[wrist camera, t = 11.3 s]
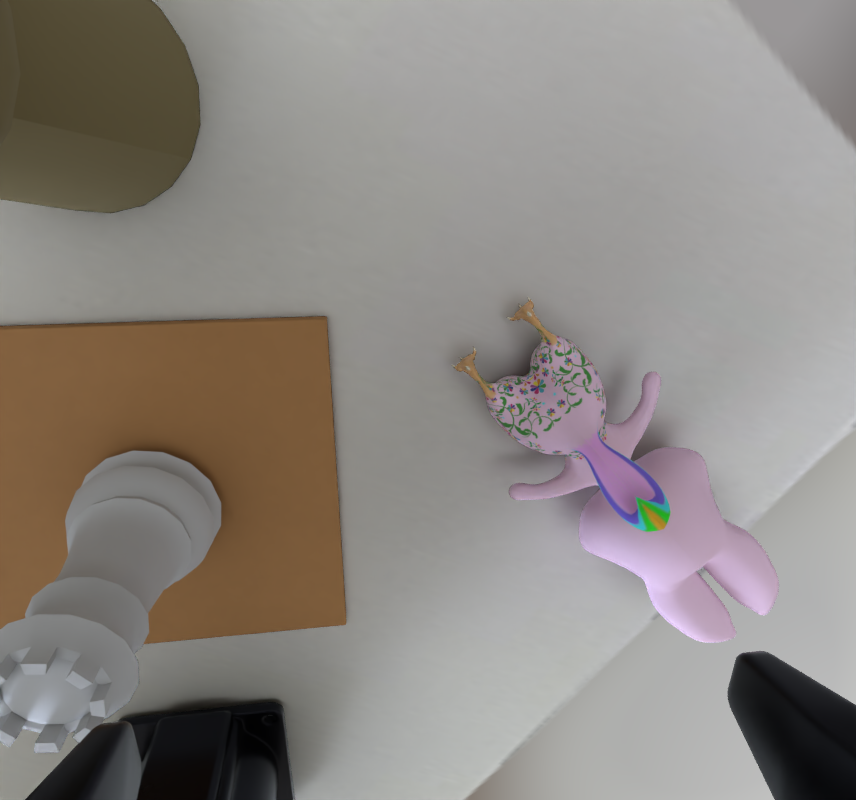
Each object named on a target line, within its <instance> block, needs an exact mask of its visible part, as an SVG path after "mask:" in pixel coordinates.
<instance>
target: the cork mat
mask: <svg viewBox="0 0 856 800" xmlns="http://www.w3.org/2000/svg"><path fill="white" fill-rule="evenodd" d="M130 451H151V452H164V453H166V454H169V455H171V456H174V457H176V458H179V459H181V460H184V461H187V462H189V463H191V464H192V465H193V466H194V467H195V468H196V469H198V470H199V471H200V472H201V473H202V474H203V475H204V476H206V477H207V478H208V479H209V480H210V481H211V483H212V485H213V487H214V489H215V491H216V493H217V495H218V497H219V499H220V501H221V527H220V528H219V530H218V532H217V534H216V536H215V538H214V541H213V542H212V544H211V546H210V548H209V550H208V552H207V554H206V556H205V558H204V560H203V561H202V562H201V563H200V564H199V565H198V566H197V567H196V568H195V569H193V570H192V571H191V572H190V573H188V574H187V575H186V576H184V577H183V578H182V579H181V580H179V581H176V582H174V583H173V584H172V585H171V586H169V587H168V588H167V589H164V590H163V592H162V593H161V595H160V596H159V598H158V599H157V601H156V602H155V604H154V605H153V607H152V608H151V610H150V611H149V613H148V620H149V634H148V636H147V638H146V640H145V642H144V643H143V644H149V643H160V642H170V641H181V640H191V639H202V638H212V637H223V636H233V635H244V634H254V633H265V632H275V631H286V630H296V629H307V628H317V627H328V626H338V625H346V606H345V590H344V575H343V559H342V544H341V528H340V513H339V497H338V482H337V466H336V451H335V435H334V420H333V404H332V389H331V373H330V358H329V342H328V327H327V317H326V316H318V317H284V318H251V319H217V320H184V321H151V322H117V323H84V324H50V325H17V326H0V629H2V628H3V627H4V626H5V625H7V624H8V623H11V622H14V621H18V620H21V619H24V618H25V613H26V610H27V608H28V606H29V603H30V601H31V599H32V597H33V596H34V595H35V594H37V593H38V592H39V591H40V590H42V589H43V588H44V587H45V586H47V585H48V584H50V583H53V582H54V581H55V580H56V578H57V577H58V575H59V574H60V572H61V570H62V568H63V565H64V563H65V561H66V559H67V556H68V547H67V538H66V537H67V534H66V525H65V519H66V514H67V511H68V509H69V507H70V504H71V502H72V500H73V497H74V495H75V493H76V491H77V490H78V489H79V488H80V487H81V486H82V483H83V481H84V479H85V476H86V475H87V474H88V473H89V472H91V471H92V470H93V469H94V468H95V467H97V466H98V465H99V464H100V463H101V462H103V461H104V460H105V459H107V458H110V457H113V456H117V455H120V454H123V453H127V452H130Z"/></svg>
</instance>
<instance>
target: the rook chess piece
mask: <svg viewBox="0 0 856 800" xmlns="http://www.w3.org/2000/svg"><path fill="white" fill-rule="evenodd" d="M65 525H66V534H67V537H66V538H67V547H68V556H67V559H66V561H65V563H64V565H63V568H62V570H61V572H60V574H59V575H58V577H57V578H56V580H55V581H54V582H53V583H50V584H48V585H47V586H45V587H44V588H43V589H42V590H40V591H39V592H38V593H37V594H35V595H34V596H33V597H32V599H31V601H30V603H29V606H28V608H27V610H26V613H25V618H24V619H21V620H18V621H14V622H11V623H8V624H7V625H5V626H4V627H3V628H2V629H0V743H2V744H4V745H6V746H8V747H10V746H11V745H12V743H13V742H14V741H15V740H16V738H17V737H18V735H19V733H20V731H21V730H22V729H26V730H30V731H35V732H39V733H41V734H40V735H39V737H38V739H37V741H36V743H35V749H34V753H49V752H59V751H60V749H61V747H62V745H63V743H64V741H65V739H66V737H67V735H68V733H70V732H73V731H75V732H74V735H73V737H72V738H73V739H75V740H76V741H77V742H78V743H80V741H81V740H82V739H83V738H84V737H85V736H86V735H87V734H88V733H89V732H90V731H91V730H92V729H93V728H95V727H96V726H98V725H100V724H102V722H103V720H104V719H106V718H108V717H110V716H111V715H112V714H114V713H115V712H116V711H118V710H119V709H120V708H122V707H123V706H124V705H126V704H127V703H128V702H129V701H130V699H131V698H132V696H133V694H134V692H135V690H136V688H137V686H138V684H139V668H138V660H137V658H136V656H135V655H134V653H135V652H137V651H138V650H139V649H141V647H142V645H143V643H144V642H145V640H146V638H147V636H148V634H149V620H148V613H149V611H150V610H151V608H152V607H153V605H154V604H155V602H156V601H157V599H158V598H159V596H160V595H161V593H162V592H163V590H164V589H167V588H168V587H169V586H171V585H172V584H173V583H174V582H176V581H179V580H181V579H182V578H183V577H184V576H186V575H187V574H188V573H190V572H191V571H192V570H193V569H195V568H196V567H197V566H198V565H199V564H200V563H201V562H202V561H203V560H204V558H205V556H206V554H207V552H208V550H209V548H210V546H211V544H212V542H213V541H214V538H215V536H216V534H217V532H218V530H219V528H220V527H221V501H220V499H219V497H218V495H217V493H216V491H215V489H214V487H213V485H212V483H211V481H210V480H209V479H208V478H207V477H206V476H204V475H203V474H202V473H201V472H200V471H199V470H198V469H196V468H195V467H194V466H193V465H192V464H191V463H189V462H187V461H184V460H181V459H179V458H176V457H174V456H171V455H169V454H166V453H164V452H151V451H130V452H127V453H123V454H120V455H117V456H113V457H110V458H107V459H105V460H104V461H103V462H101V463H100V464H99V465H98V466H97V467H95V468H94V469H93V470H92V471H91V472H89V473H88V474H87V475H86V476H85V479H84V481H83V483H82V486H81V487H80V488H79V489H78V490H77V491H76V493H75V495H74V497H73V500H72V502H71V504H70V507H69V509H68V511H67V514H66V519H65Z"/></svg>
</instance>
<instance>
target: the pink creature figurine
mask: <svg viewBox="0 0 856 800" xmlns="http://www.w3.org/2000/svg"><path fill="white" fill-rule="evenodd" d="M528 301H529V302H527V303H526V304H525V305H524V306H521V305H520V304H519V308H520V309H519V310H518V311H517V312H516V313H515V316H514V317H513V318H512V317H507V318H508V319H509V320H512V321H514V320H520V319H521V318H522V319H523V320H525V321H528V322H529V323H531V324H532V325H533V326H535V327H536V329H537V330H538V331H539V333H540V336H541V344H539V345H538V346H537V347H536V349H535V350H534V352H533V353H532V356H531V361H530V371H529V373H528V374H527V375H525V376H506V377H503V378H501V379H500V380H498V381H497V382H496V383H489V382H487V381H485V380H484V379H483V378H482V377H481V376H480V375H479V374H478V372H477V370H476V368H475V365H474V363H473V360H475V355H476V349H475V348H474V347H473V354H469V355H468V356H467V357H465V358H462V357H460V359H461V361H460V363H458V364H457V366H455V365H452V366H453V367H454V368H455V369H456V370H457V371H464V372H466V373H468V374H469V375H470V376H471V377H472V378H473V379H474V380H475V381H477V382H478V383H479V384H480V386H481V387H482V389H483V391H484V393H485V396H486V401H487V405H488V409H489V412H490V414H491V415H492V417H493V418H494V419H495V420H496V422H497V423H498V424H499V425H500V426H501V427H502V428H503V429H504V430H505V431H506V432H507V433H508V434H509V435H510V436H511V437H512V438H513V439H515V440H516V441H518V442H519V443H521V444H523V445H524V446H526V447H529V448H531V449H533V450H535V451H538V452H541V453H545V454H551V455H560V454H564V456H565V467H564V470H563V471H562V472H561V473H560V474H559V475H558V476H557V477H555V478H553V479H551V480H549V481H547V482H544V483H541V484H536V485H532V484H525V483H516V484H513V485H512V486H511V487H510V489H509V495H510V496H511V497H512V498H513V499H515V500H536V499H548V498H553V497H557V496H561V495H565V494H568V493H572V492H575V491H578V490H580V489H583V488H586V487H590V486H599V487H600V489H599V490H598V491H597V492H596V493H595V494H594V495H593V496H592V497H591V498H590V500H589V501H588V502H587V503H586V505H585V506H584V508H583V510H582V513H581V517H580V523H579V539H580V542H581V545H582V546H583V548H584V549H585V550H586V551H588V552H590V553H591V554H594V555H596V556H598V557H601V558H604V559H606V560H609V561H611V562H614V563H616V564H618V565H620V566H622V567H624V568H626V569H628V570H630V571H631V572H633V573H634V574H636V575H637V576H639V577H641V578H642V579H643V580H644V582H645V584H646V587H647V590H648V594H649V596H650V599H651V602H652V603H653V605H654V607H655V608H656V610H657V611H658V612H659V613H660V614H661V615H662V616H663V617H664V618H665V619H666V620H667V621H668V622H669V623H670V624H671V625H673V626H674V627H675V628H677V629H678V630H680V631H681V632H683V633H684V634H685V635H687V636H689V637H690V638H692V639H695V640H697V641H701V642H708V643H715V642H722V641H727V640H730V639H732V638H734V637H735V636H736V630H735V628H734V626H733V624H732V621H731V618H730V615H729V612H728V611H727V609H726V607H725V605H724V604H723V603H722V601H721V600H720V599H719V598H718V596H717V595H716V594H715V593H714V591H713V590H712V589H711V588H710V586H709V585H708V584H707V583H706V582H705V580H704V579H703V578H702V577H701V576H700V575H699V574H698V572H697V570H699V569H700V568H702V567H704V568H705V569H706V570H707V572H708V573H709V574H710V575H711V576H712V577H713V578H714V579H715V580H716V581H717V582H718V583H719V584H720V585H721V586H722V587H723V588H724V589H725V590H726V591H727V592H728V594H729V595H730V596H731V597H733V598H734V599H735V600H736V601H737V602H739V603H740V604H742V605H744V606H746V607H748V608H750V609H751V610H753V611H755V612H756V613H758V614H760V615H766V614H767V613H769V611H770V610H771V608H772V606H773V605H774V603H775V601H776V598H777V595H778V590H779V581H778V576H777V573H776V571H775V569H774V567H773V565H772V563H771V561H770V559H769V557H768V555H767V554H766V552H765V550H764V549H763V548H762V546H761V545H760V544H759V543H758V541H757V540H756V539H755V538H754V537H753V536H752V535H751V534H749V533H748V532H747V531H745V530H743V529H742V528H740V527H738V526H736V525H733V524H731V523H729V522H727V521H726V520H724V519H723V518H722V516H721V514H720V512H719V509H718V507H717V505H716V503H715V500H714V497H713V494H712V490H711V486H710V482H709V477H708V472H707V468H706V464H705V461H704V459H703V458H702V456H701V455H700V454H698V453H697V452H695V451H693V450H690V449H685V448H676V447H665V448H659V449H656V450H653V451H651V452H649V453H647V454H645V455H643V456H642V457H640V458H639V459H637V460H635V461H632V460H631V456H632V453H633V451H634V449H635V447H636V445H637V444H638V442H639V441H640V439H641V438H642V436H643V434H644V432H645V430H646V428H647V426H648V424H649V422H650V420H651V418H652V416H653V413H654V410H655V407H656V404H657V399H658V395H659V390H660V386H661V377H660V375H659V374H658V373H657V372H649V373H647V374H646V375H645V376H644V378H643V381H642V395H641V399H640V402H639V404H638V406H637V407H636V409H635V410H634V412H633V413H632V414H631V416H630V417H629V418H628V419H627V420H625V421H624V422H622V423H619V424H610V423H607V422H604V418H605V414H606V397H605V392H604V389H603V385H602V382H601V379H600V377H599V375H598V373H597V371H596V369H595V367H594V366H593V364H592V363H591V361H590V360H589V359H588V358H587V356H586V355H585V354H584V353H583V352H582V351H581V350H580V348H579V347H578V346H577V345H575V344H574V343H573V342H572V341H570V340H568V339H565V338H562V337H559V336H556V335H553V334H552V333H550V332H549V331H547V330H546V329H545V328H544V327H543V326H542V324H541V323H540V321H539V320H538V318H537V317H536V316H535V314H534V312H533V310H532V309H533V307H534V305H533V302H532V301H531V299H530V298H529V297H528Z"/></svg>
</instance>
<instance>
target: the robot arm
mask: <svg viewBox="0 0 856 800" xmlns="http://www.w3.org/2000/svg"><path fill="white" fill-rule="evenodd" d="M728 700H729V704H730V708H731V710H732V712H733V714H734V716H735V718H736V720H737V723H738V725H739V727H740V729H741V731H742V733H743V735H744V737H745V739H746V741H747V743H748V745H749V747H750V749H751V751H752V754H753V756H754V758H755V760H756V762H757V764H758V766H759V768H760V770H761V772H762V774H763V776H764V778H765V781H766V782H767V785H768V786H769V789H770V791H771V793H772V795H773V797H774V799H775V800H856V705H855V704H853V703H851V702H850V701H848V700H846V699H845V698H843V697H841V696H840V695H838V694H836V693H835V692H833V691H831V690H830V689H828V688H826V687H825V686H823V685H821V684H820V683H818V682H817V681H815V680H813V679H812V678H810V677H808V676H807V675H805V674H803V673H802V672H800V671H798V670H797V669H795V668H793V667H792V666H790V665H788V664H787V663H785V662H783V661H782V660H780V659H778V658H777V657H775V656H774V655H772V654H769V653H768V652H764V651H756V652H747V653H742V654H740V655H739V656H738V657H737V658H736V660H735V664H734V668H733V672H732V676H731V680H730V683H729V687H728ZM268 715H273V716H268ZM25 800H295V796H294V788H293V780H292V772H291V764H290V756H289V748H288V740H287V732H286V724H285V716H284V709H283V707H282V706H281V705H280V704H278V703H275V702H268V703H259V704H249V705H240V706H231V707H222V708H213V709H204V710H195V711H186V712H177V713H167V714H158V715H149V716H140V717H131V718H124V719H121V720H119V721H118V722H113V723H104V724H100V725H98V726H96V727H95V728H93V729H92V730H91V731H90V732H89V733H88V734H87V735H86V736H85V737H84V738H83V739H82V740H81V741H80V743H79V744H78V745H77V746H76V747H75V748H74V749H73V750H72V751H71V752H70V753H69V754H68V755H67V756H66V757H65V758H64V759H63V760H62V761H61V762H60V764H59V765H58V766H57V767H56V768H55V769H54V770H53V771H52V772H51V773H50V774H49V775H48V776H47V777H46V778H45V779H44V780H43V781H42V782H41V784H40V785H39V786H38V787H37V788H36V789H35V790H34V791H33V792H32V793H31V794H30V795H29V796H28V797H27V798H26V799H25Z"/></svg>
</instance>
